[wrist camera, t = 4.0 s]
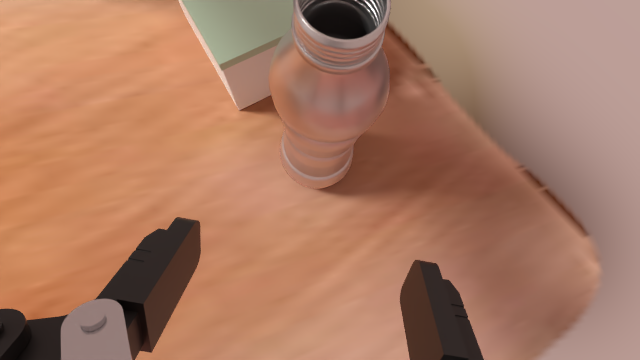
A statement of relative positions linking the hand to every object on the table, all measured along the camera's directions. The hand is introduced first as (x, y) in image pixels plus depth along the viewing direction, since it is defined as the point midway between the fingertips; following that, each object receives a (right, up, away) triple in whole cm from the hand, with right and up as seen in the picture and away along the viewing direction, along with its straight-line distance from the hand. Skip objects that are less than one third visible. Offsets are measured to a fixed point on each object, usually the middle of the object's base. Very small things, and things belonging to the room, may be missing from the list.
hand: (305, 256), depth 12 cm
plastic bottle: (0, +5, +19) cm, 20 cm away
